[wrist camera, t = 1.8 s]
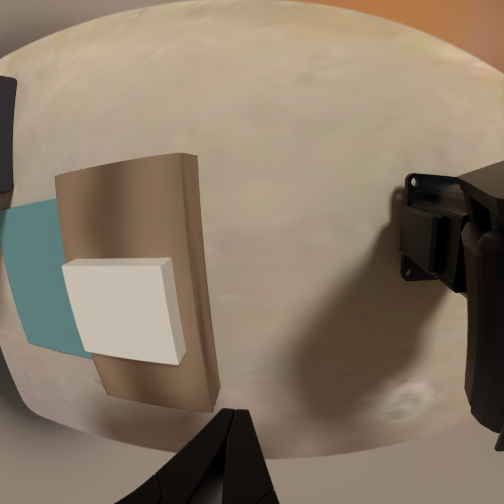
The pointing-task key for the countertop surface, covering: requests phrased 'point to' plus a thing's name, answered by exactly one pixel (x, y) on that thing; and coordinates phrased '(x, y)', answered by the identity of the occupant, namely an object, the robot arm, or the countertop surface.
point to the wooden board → (148, 246)
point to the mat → (39, 276)
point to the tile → (126, 308)
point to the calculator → (6, 131)
